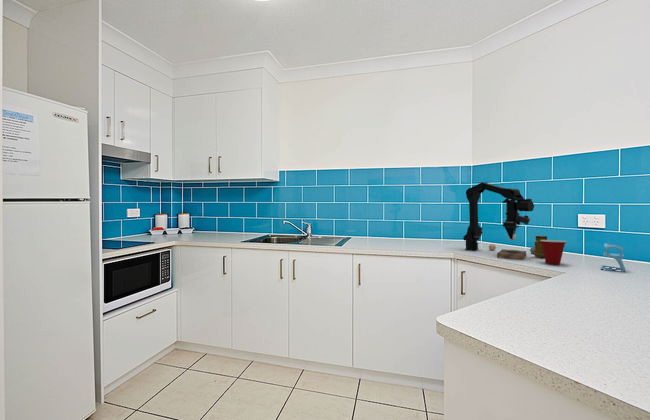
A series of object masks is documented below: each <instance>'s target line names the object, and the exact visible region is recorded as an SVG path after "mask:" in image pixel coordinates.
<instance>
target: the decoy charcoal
mask: <svg viewBox="0 0 650 420" xmlns="http://www.w3.org/2000/svg"><path fill="white" fill-rule="evenodd" d="M529 252H530V253H531V254H533V255H535V246H532V247H530V249H529Z"/></svg>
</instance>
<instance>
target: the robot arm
mask: <svg viewBox="0 0 650 420" xmlns="http://www.w3.org/2000/svg"><path fill="white" fill-rule="evenodd" d="M485 191H488V192H492V193H494V194H495V193H496V194H499V195H500V196H502V198H505V199H504V200H503V201H502V204H505V206H506V207H505V209H506V211H505V221H503V223H502V227H503V228H504V229H505V231H506V233H507V236H508V235H509V237H510V239H513V234H515V235H516V231H517V228H519V227H520V226H521V224H524V225H529V223H530V221H531V218H530V217H529V216H528V215H526V214H525V215H524V216H523V215H520V212H532V211H534V209H535V204H534V202H533V201H532V198H525V197H523V196H522V194H521V191H520V189H518V188H512V187H502V186H499V185H495V184H492V183H489V182H480V183H477V185H473V186H471V187H469V188H467V189H466V190H465V196H466V199H467V201H468V209H469V210H468V211H469V225H468V226H467V229H466V234H464V236H463V237H462V239H463V241H465V249H464V250H466V251H472V252H473V251H477V250H479V242H478V241H479V240H480V239H481V237H482V234H483V227H482V226H480V225H479V201H480V198H481V194H483V193H484V192H485ZM510 239H509V240H510Z"/></svg>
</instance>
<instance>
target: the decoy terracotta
mask: <svg viewBox="0 0 650 420" xmlns="http://www.w3.org/2000/svg"><path fill="white" fill-rule="evenodd" d="M496 248H497V247H496V245H495V244H493V243H491V244H489V245H488V249H489V250H490V251H495V250H496Z"/></svg>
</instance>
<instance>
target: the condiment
mask: <svg viewBox="0 0 650 420" xmlns="http://www.w3.org/2000/svg"><path fill="white" fill-rule="evenodd" d="M540 240H548V236H546V235H535V240H534V247H535V254H534V256H532V258H534V259H535V258H536V259H543V260H545V257H544V253H543V247H542V244H541V241H540Z"/></svg>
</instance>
